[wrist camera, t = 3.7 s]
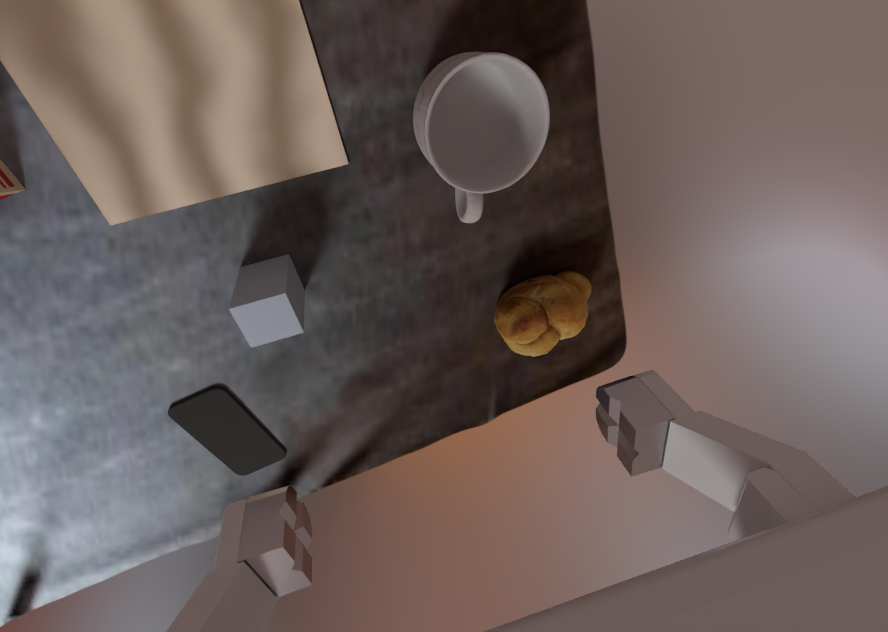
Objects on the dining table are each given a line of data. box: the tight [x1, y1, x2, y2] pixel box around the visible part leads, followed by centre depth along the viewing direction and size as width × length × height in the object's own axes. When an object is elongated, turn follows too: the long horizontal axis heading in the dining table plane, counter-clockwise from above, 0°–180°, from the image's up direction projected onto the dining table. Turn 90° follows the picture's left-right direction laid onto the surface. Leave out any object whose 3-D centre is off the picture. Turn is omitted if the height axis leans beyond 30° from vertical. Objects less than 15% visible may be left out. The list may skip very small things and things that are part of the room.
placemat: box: [0, 0, 349, 225], centre depth 37 cm, size 22×17×1 cm
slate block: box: [229, 254, 305, 348], centre depth 44 cm, size 5×4×8 cm
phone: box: [168, 386, 286, 475], centre depth 58 cm, size 7×1×15 cm
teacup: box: [413, 52, 550, 223], centre depth 41 cm, size 14×11×8 cm
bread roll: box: [494, 271, 591, 357], centre depth 54 cm, size 13×10×8 cm
